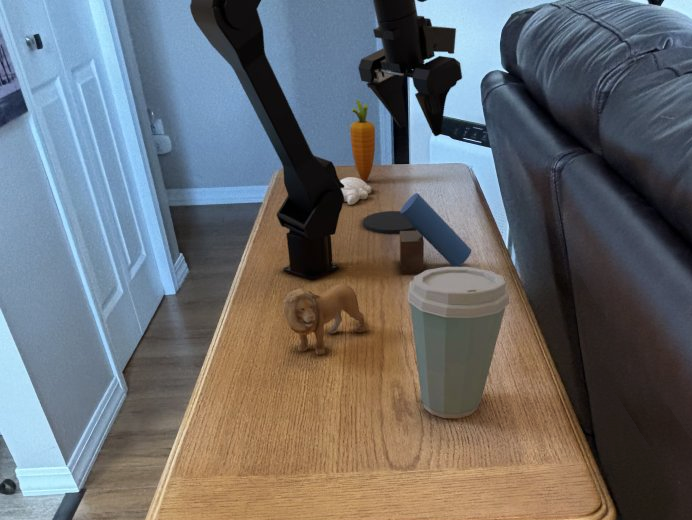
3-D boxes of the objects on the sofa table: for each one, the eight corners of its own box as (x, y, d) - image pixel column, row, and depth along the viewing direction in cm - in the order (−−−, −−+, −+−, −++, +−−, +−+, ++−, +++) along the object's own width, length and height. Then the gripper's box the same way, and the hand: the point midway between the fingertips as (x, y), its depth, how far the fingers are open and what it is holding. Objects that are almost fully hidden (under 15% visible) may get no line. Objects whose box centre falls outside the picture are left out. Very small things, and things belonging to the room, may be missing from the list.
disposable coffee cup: (397, 388, 87) (395, 261, 78) (483, 377, 89) (492, 252, 80) (419, 435, 79) (420, 300, 70) (514, 422, 81) (527, 289, 72)
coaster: (398, 237, 128) (398, 234, 128) (350, 225, 134) (350, 222, 133) (435, 221, 135) (435, 218, 135) (388, 210, 140) (388, 207, 140)
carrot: (375, 185, 154) (373, 103, 144) (352, 185, 154) (348, 103, 144) (376, 178, 158) (374, 98, 148) (353, 179, 158) (349, 98, 148)
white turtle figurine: (317, 203, 145) (315, 186, 143) (339, 186, 153) (338, 170, 151) (358, 206, 142) (358, 189, 141) (379, 189, 151) (378, 173, 149)
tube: (401, 272, 116) (400, 197, 109) (400, 263, 119) (399, 190, 111) (471, 271, 116) (475, 196, 109) (469, 262, 119) (472, 189, 112)
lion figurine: (313, 370, 91) (306, 299, 85) (278, 360, 93) (269, 291, 87) (374, 325, 101) (372, 259, 95) (342, 317, 103) (337, 252, 97)
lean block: (401, 274, 115) (400, 241, 112) (400, 262, 119) (399, 231, 116) (423, 273, 115) (423, 241, 112) (421, 262, 119) (421, 230, 116)
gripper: (482, -5, 100) (497, 117, 111) (403, -9, 112) (424, 102, 123) (418, 27, 97) (441, 149, 108) (344, 19, 109) (371, 129, 120)
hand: (419, 130), depth 115 cm, fingers open, 9 cm apart
